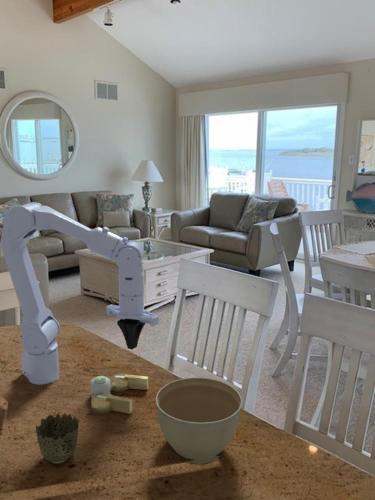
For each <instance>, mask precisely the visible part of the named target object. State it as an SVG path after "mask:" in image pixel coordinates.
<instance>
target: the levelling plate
mask: <svg viewBox="0 0 375 500" xmlns="http://www.w3.org/2000/svg"><path fill="white" fill-rule="evenodd" d="M89 382H90V383H89V384H90V396H91V397H90V398H91V399H92V397H93V396H94V395H96V394H99V393H109V394H112V393H111V389H110V377H107V376H104V375H98V376H95V377H94V378H92V379H91V380H90V381H89Z"/></svg>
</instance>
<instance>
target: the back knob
mask: <svg viewBox="0 0 375 500" xmlns="http://www.w3.org/2000/svg"><path fill="white" fill-rule="evenodd" d="M109 379H110V391H112V392H117V393H122V392H126V391H128V390H129V389H135V390H144V391H147V390H148V389H149V376H147V375H136V374H135V375H134V374H127V373H115V374H113V375H111V376H110V377H109Z"/></svg>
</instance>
